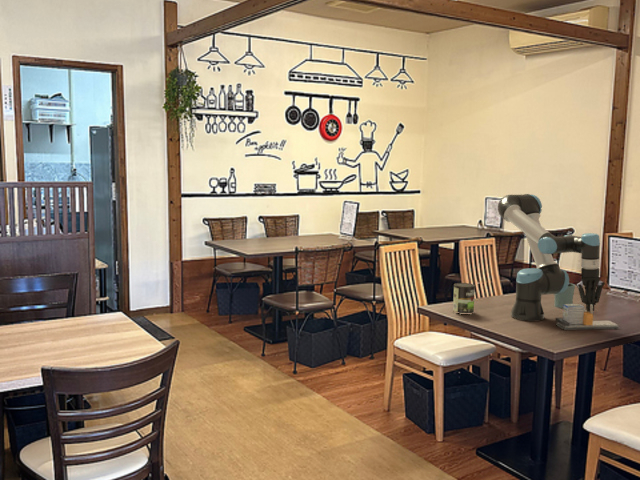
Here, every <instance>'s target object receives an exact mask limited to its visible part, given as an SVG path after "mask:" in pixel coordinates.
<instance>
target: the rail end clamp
mask: <svg viewBox="0 0 640 480" xmlns="http://www.w3.org/2000/svg"><path fill="white" fill-rule="evenodd" d="M593 321H594V313H593V314H591V313H589V312H588V311H587V310H586V308H584V317H583V324H584V325H592V324H593Z"/></svg>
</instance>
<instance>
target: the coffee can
mask: <svg viewBox="0 0 640 480" xmlns="http://www.w3.org/2000/svg"><path fill="white" fill-rule="evenodd" d="M475 291H476V285H475V284H474V283H467V282H457V283H454V284H453V308H452V311H453V310H454V311H456V312H459V313H473V312H475ZM473 314H474V313H473Z"/></svg>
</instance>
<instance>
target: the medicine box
mask: <svg viewBox="0 0 640 480" xmlns="http://www.w3.org/2000/svg"><path fill="white" fill-rule="evenodd" d="M584 309H585V306H584V305H583V304H581V303H573V304H564V305H563V308H562V319H563V320H565V321H567V322H569V323H570V324H583V317H584Z"/></svg>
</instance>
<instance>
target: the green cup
mask: <svg viewBox="0 0 640 480" xmlns="http://www.w3.org/2000/svg"><path fill="white" fill-rule="evenodd" d="M575 288H576V284H574V283H571V282H569V285H568V287H567V289H566V290H565V291H564V292H562V293H558V294H554V307H555V308H557V309H563V305H564V304H574V302H573V300H574V294H575V290H576V289H575Z"/></svg>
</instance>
